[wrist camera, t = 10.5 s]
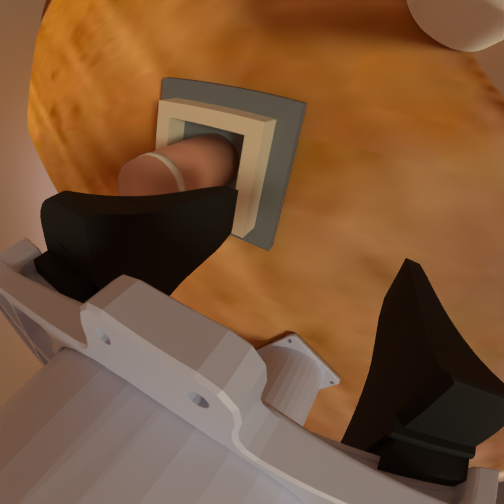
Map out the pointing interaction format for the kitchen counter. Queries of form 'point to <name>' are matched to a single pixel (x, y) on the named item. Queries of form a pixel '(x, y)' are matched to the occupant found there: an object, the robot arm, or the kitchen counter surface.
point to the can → (460, 22)
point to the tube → (180, 167)
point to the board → (239, 144)
